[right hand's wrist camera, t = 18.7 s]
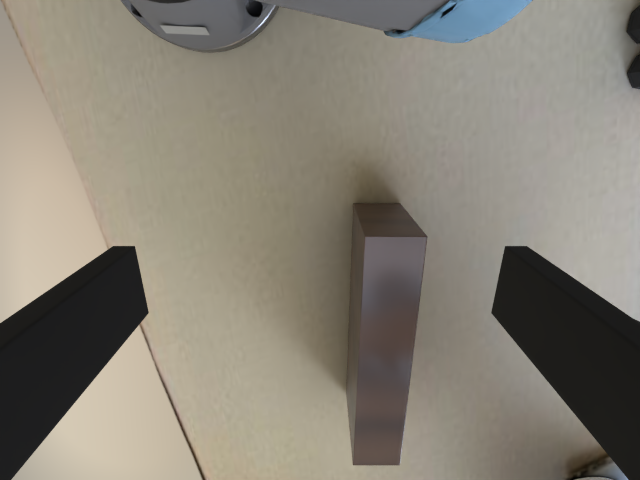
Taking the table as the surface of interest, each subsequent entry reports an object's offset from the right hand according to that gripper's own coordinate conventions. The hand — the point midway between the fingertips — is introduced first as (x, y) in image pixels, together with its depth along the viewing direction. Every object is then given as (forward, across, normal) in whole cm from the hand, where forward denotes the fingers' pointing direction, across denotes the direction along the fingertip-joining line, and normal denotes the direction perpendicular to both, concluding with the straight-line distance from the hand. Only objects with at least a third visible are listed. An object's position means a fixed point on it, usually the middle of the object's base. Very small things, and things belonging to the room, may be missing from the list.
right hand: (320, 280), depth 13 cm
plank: (+25, +6, -17) cm, 30 cm away
